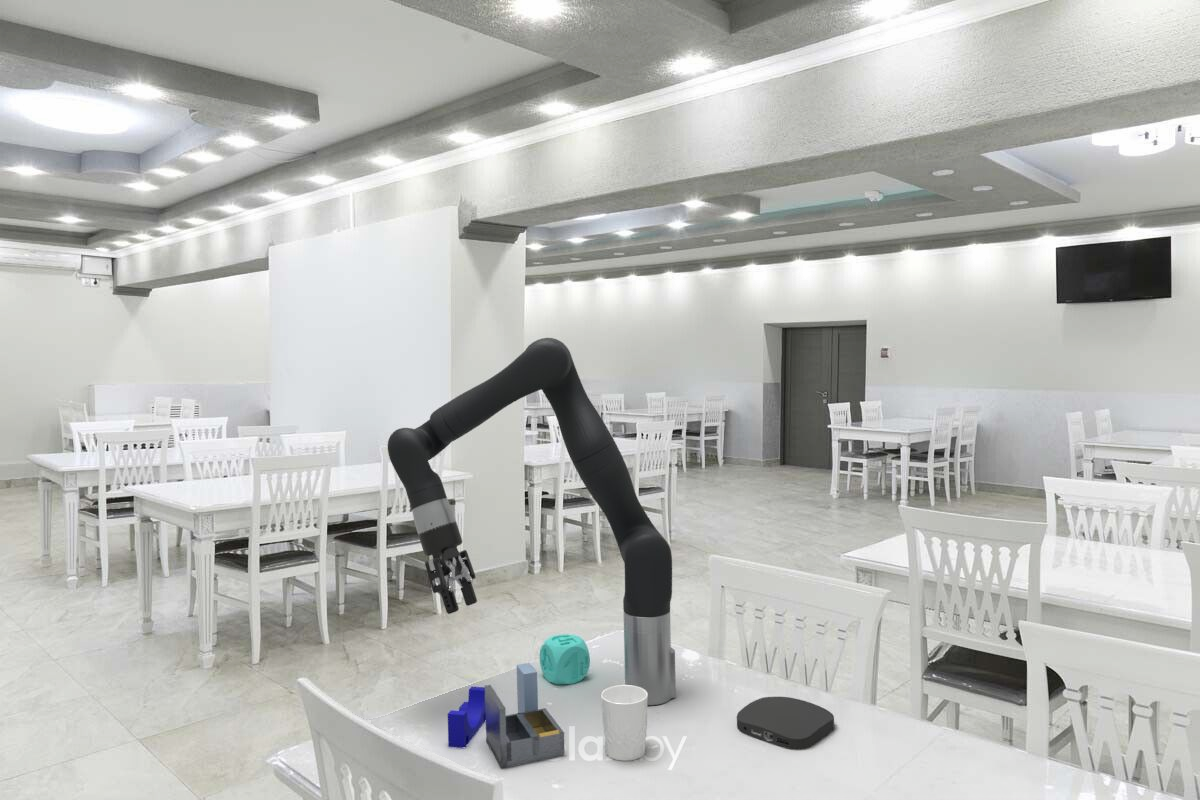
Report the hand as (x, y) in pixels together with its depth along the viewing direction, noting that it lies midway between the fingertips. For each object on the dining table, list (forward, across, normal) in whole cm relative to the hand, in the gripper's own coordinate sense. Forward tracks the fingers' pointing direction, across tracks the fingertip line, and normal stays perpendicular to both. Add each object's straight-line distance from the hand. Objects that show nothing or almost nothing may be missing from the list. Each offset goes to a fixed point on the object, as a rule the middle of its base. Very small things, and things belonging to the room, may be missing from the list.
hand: (463, 608), depth 153 cm
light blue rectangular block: (+24, +2, -5) cm, 24 cm away
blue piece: (+21, -5, +5) cm, 22 cm away
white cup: (+32, -6, -23) cm, 40 cm away
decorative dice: (+22, +23, -6) cm, 32 cm away
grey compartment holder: (+26, -9, -7) cm, 28 cm away
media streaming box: (+40, +9, -48) cm, 63 cm away
